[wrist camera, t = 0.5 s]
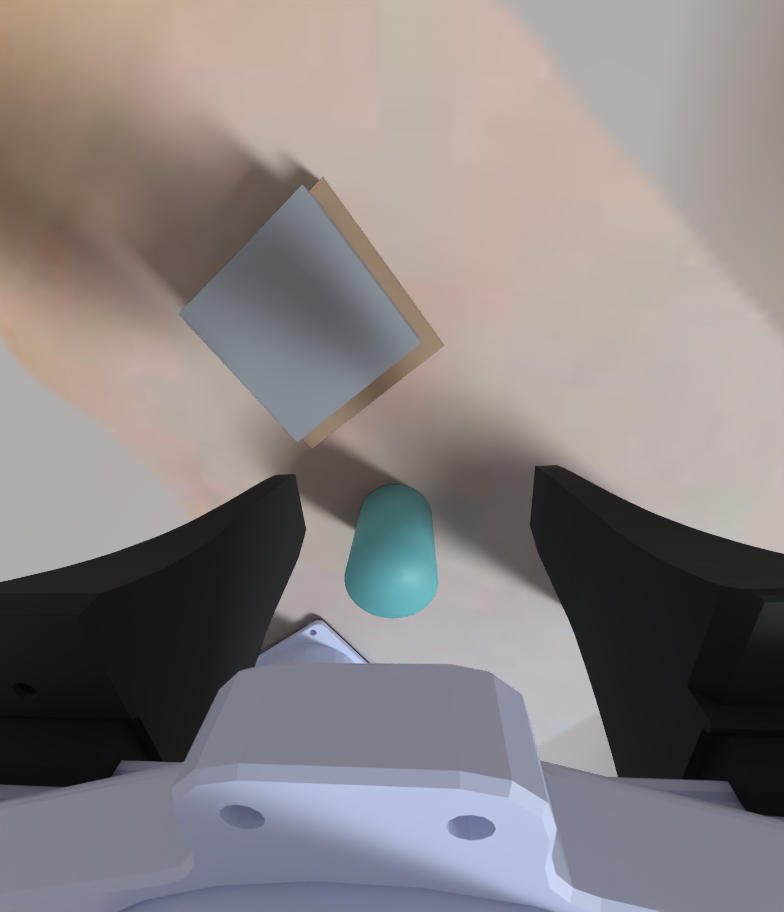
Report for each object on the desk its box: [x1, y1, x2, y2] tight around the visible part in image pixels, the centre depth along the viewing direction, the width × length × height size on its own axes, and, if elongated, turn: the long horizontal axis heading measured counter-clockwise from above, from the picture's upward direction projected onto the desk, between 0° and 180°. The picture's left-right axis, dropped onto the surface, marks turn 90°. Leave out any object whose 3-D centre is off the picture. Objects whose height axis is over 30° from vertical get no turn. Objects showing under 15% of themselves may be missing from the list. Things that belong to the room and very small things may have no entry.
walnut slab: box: [302, 177, 444, 449], centre depth 19 cm, size 8×8×2 cm
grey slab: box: [179, 184, 421, 442], centre depth 17 cm, size 7×7×2 cm
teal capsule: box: [345, 484, 438, 618], centre depth 21 cm, size 4×4×6 cm
